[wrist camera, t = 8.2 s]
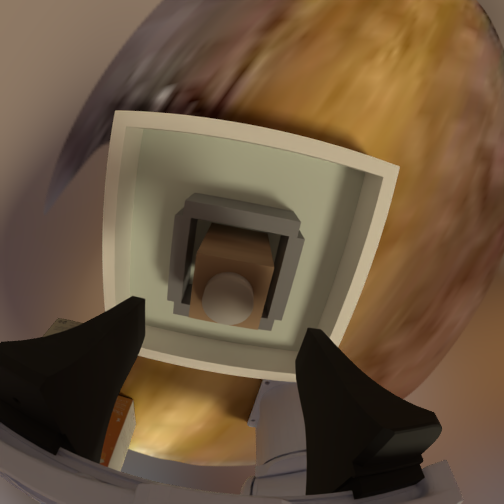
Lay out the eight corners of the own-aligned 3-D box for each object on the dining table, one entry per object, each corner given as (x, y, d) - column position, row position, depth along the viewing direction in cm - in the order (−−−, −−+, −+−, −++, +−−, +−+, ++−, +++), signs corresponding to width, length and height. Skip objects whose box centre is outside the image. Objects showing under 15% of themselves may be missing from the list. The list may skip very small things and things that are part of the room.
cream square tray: (312, 354, 25) (320, 383, 21) (125, 321, 24) (108, 347, 20) (374, 162, 19) (399, 166, 15) (138, 116, 18) (115, 110, 14)
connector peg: (255, 283, 21) (258, 340, 15) (203, 273, 21) (185, 327, 14) (267, 233, 20) (275, 275, 13) (212, 222, 20) (193, 260, 13)
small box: (134, 398, 28) (102, 486, 16) (136, 424, 30) (113, 501, 18) (76, 377, 27) (34, 453, 15) (84, 405, 29) (52, 474, 17)
